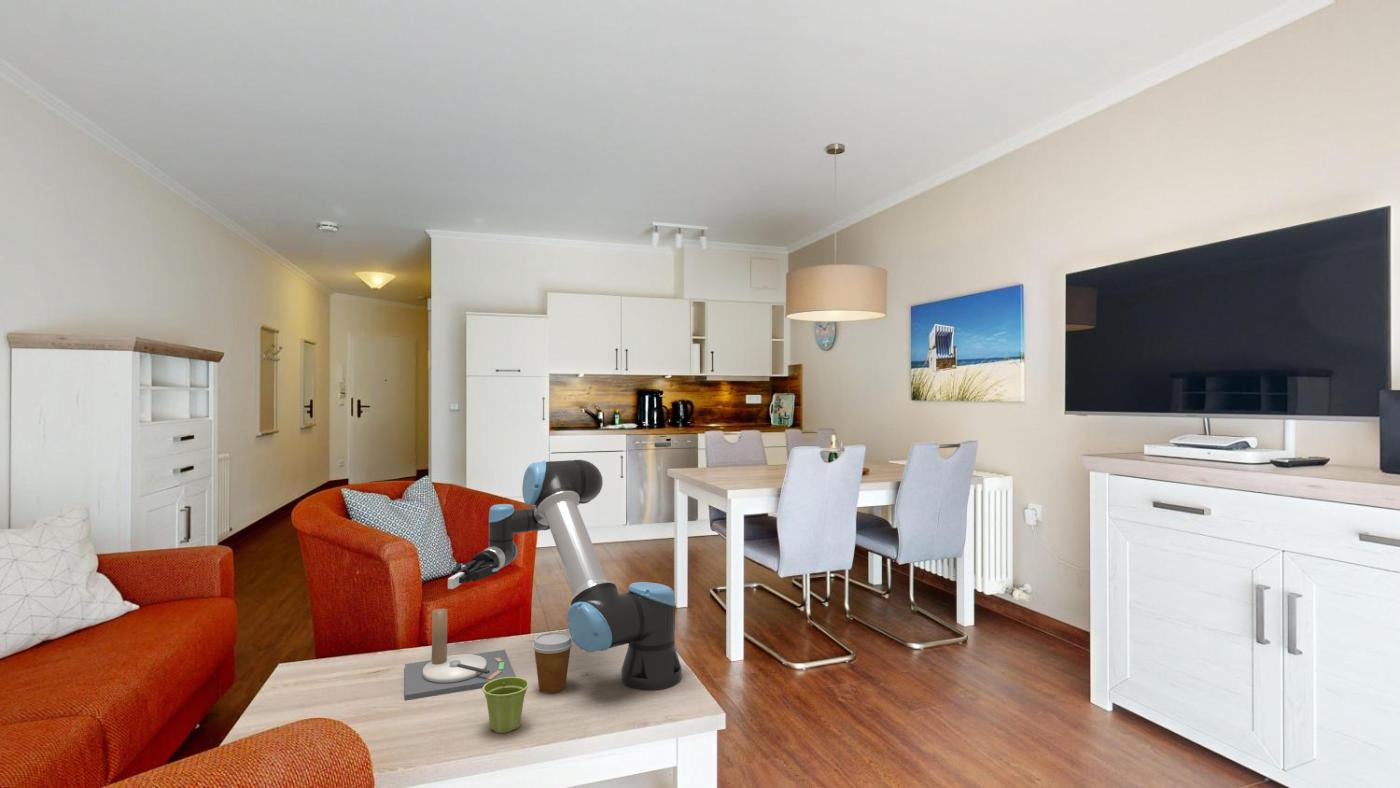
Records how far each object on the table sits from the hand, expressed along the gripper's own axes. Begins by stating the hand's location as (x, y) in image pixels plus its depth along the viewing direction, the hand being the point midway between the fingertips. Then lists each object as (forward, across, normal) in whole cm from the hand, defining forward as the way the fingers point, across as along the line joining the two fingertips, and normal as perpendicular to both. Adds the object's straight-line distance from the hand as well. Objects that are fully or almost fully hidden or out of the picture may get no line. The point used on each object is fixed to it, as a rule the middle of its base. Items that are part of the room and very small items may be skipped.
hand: (450, 583), depth 174 cm
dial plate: (+9, -6, -21) cm, 23 cm away
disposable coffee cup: (+13, -32, -21) cm, 40 cm away
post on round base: (+9, -6, -19) cm, 22 cm away
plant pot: (+32, -29, -20) cm, 48 cm away
